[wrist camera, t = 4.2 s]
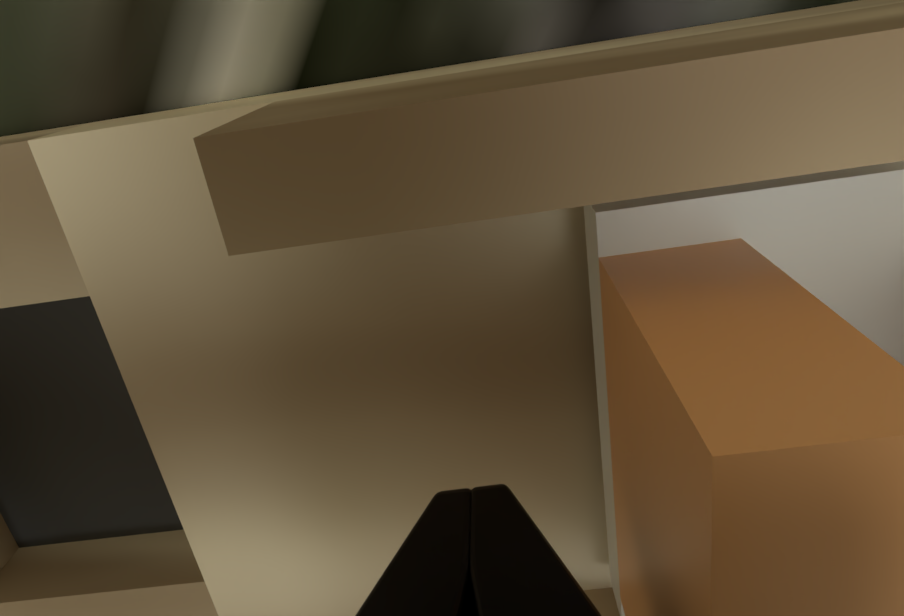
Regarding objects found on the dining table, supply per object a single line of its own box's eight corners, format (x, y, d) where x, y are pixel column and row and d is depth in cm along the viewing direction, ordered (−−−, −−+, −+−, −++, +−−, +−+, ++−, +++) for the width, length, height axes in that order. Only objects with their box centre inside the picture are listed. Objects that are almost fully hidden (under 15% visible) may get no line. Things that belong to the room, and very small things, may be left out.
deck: (1332, 487, 11) (1749, 712, 8) (19, 622, 13) (-154, 858, 9) (1626, -122, 8) (2670, -247, 4) (-238, 174, 9) (-680, 273, 6)
